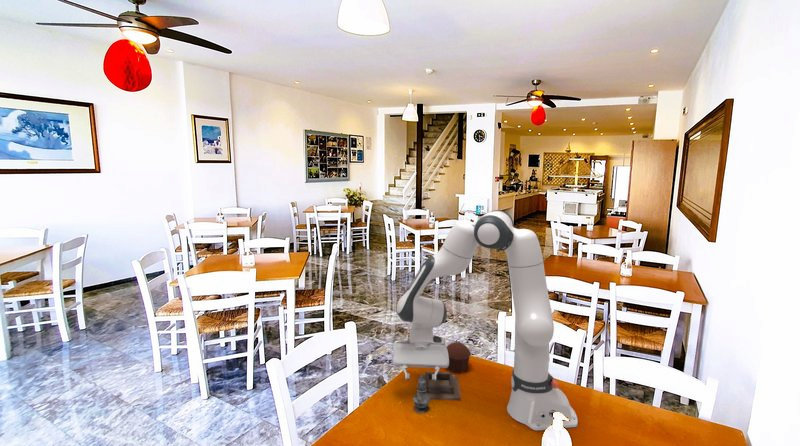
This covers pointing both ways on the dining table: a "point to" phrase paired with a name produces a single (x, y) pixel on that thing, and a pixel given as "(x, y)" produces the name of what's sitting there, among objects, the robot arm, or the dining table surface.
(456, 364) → the muffin
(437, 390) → the walnut board
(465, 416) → the dining table surface
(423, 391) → the grey chess piece
